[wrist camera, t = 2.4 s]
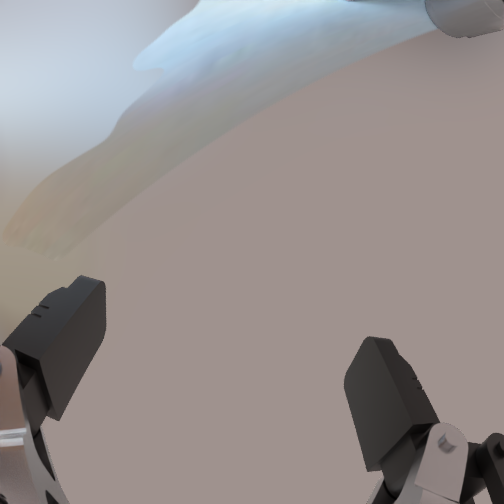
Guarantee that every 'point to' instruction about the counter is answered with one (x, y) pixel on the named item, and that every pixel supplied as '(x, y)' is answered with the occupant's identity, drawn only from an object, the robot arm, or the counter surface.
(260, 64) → the counter surface
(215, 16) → the counter surface
